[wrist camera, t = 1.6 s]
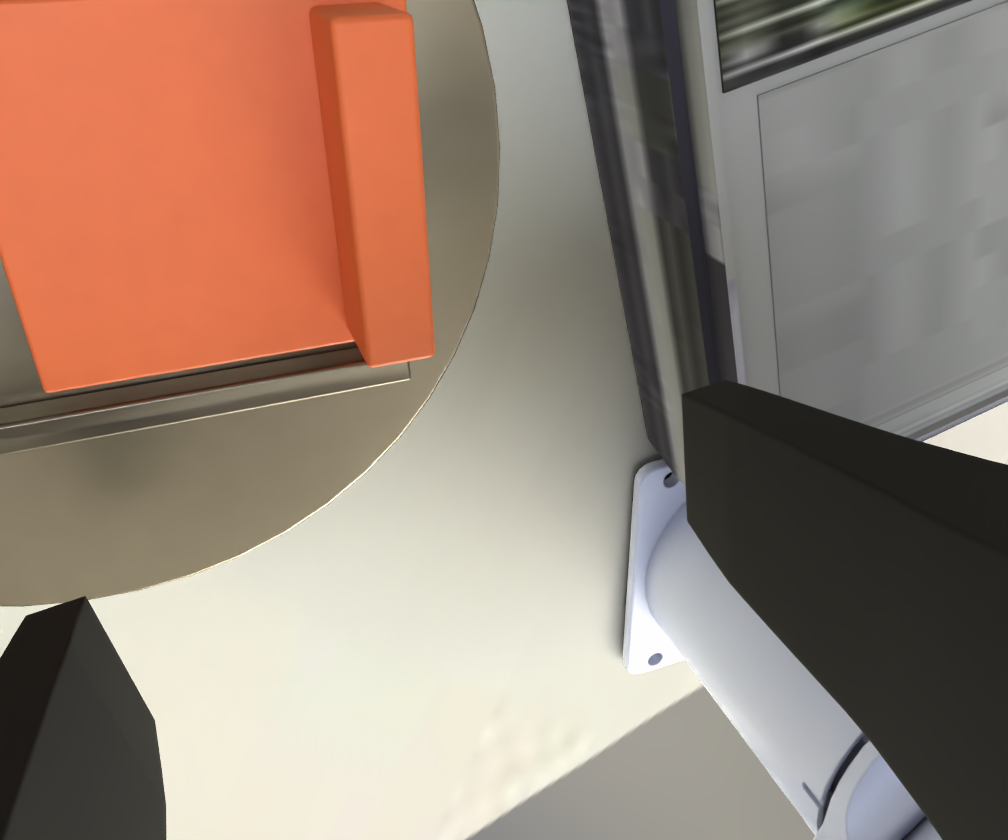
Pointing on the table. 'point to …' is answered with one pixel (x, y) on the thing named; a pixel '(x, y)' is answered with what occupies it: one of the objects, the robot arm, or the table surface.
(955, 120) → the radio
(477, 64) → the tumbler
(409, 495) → the table surface
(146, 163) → the slider
